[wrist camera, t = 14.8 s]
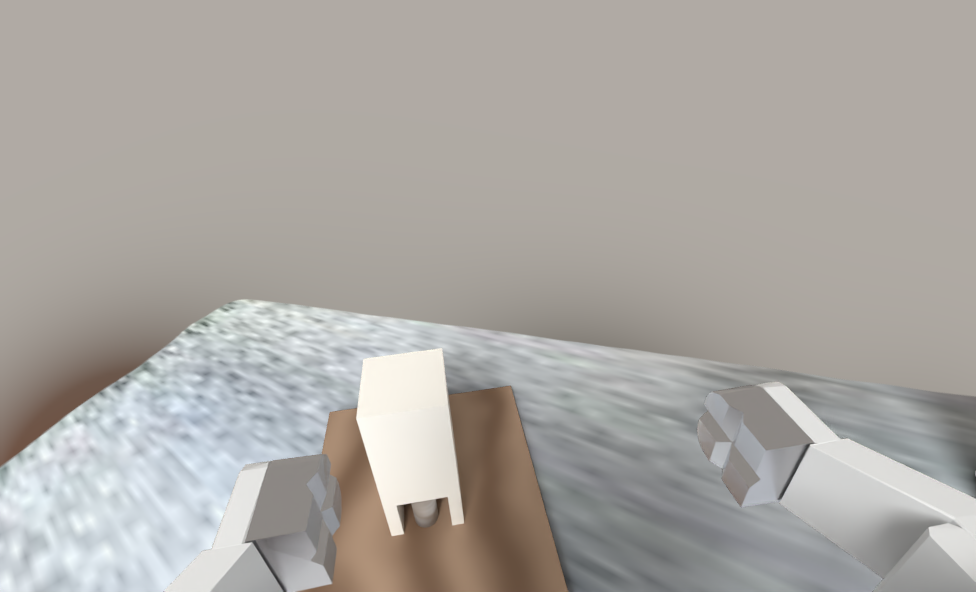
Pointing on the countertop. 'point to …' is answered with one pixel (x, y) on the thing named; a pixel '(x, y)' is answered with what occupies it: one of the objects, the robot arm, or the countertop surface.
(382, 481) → the housing
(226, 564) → the robot arm
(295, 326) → the countertop surface
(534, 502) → the stub board
